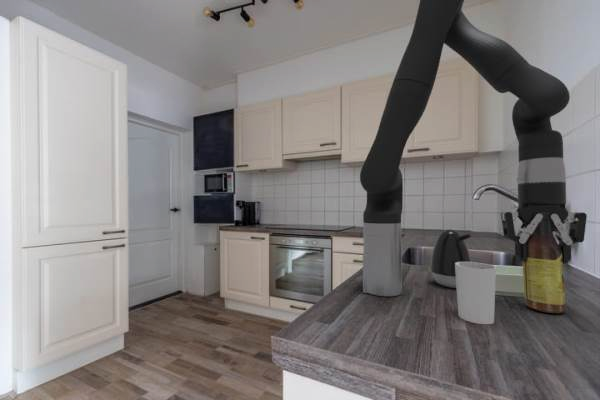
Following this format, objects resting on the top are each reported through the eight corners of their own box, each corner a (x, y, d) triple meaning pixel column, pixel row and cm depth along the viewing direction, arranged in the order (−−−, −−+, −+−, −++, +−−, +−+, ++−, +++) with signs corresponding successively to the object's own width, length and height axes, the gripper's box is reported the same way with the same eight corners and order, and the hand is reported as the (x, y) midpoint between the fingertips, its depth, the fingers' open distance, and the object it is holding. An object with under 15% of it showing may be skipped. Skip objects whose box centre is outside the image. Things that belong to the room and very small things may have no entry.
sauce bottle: (573, 316, 52) (571, 213, 52) (536, 313, 53) (534, 212, 54) (549, 304, 58) (547, 212, 59) (516, 302, 60) (515, 212, 60)
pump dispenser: (460, 293, 66) (458, 231, 67) (422, 283, 75) (421, 228, 76) (482, 287, 71) (481, 229, 72) (444, 278, 80) (443, 227, 81)
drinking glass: (471, 309, 56) (470, 260, 56) (506, 322, 49) (504, 267, 50) (447, 313, 53) (446, 263, 54) (480, 327, 47) (479, 270, 47)
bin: (490, 294, 65) (489, 273, 65) (473, 281, 77) (473, 263, 77) (550, 299, 62) (550, 277, 62) (524, 285, 73) (523, 266, 73)
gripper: (508, 181, 55) (509, 263, 54) (598, 179, 51) (600, 268, 50) (493, 184, 62) (494, 257, 62) (571, 182, 58) (573, 260, 57)
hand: (542, 261), depth 56 cm, fingers closed on sauce bottle, 6 cm apart
